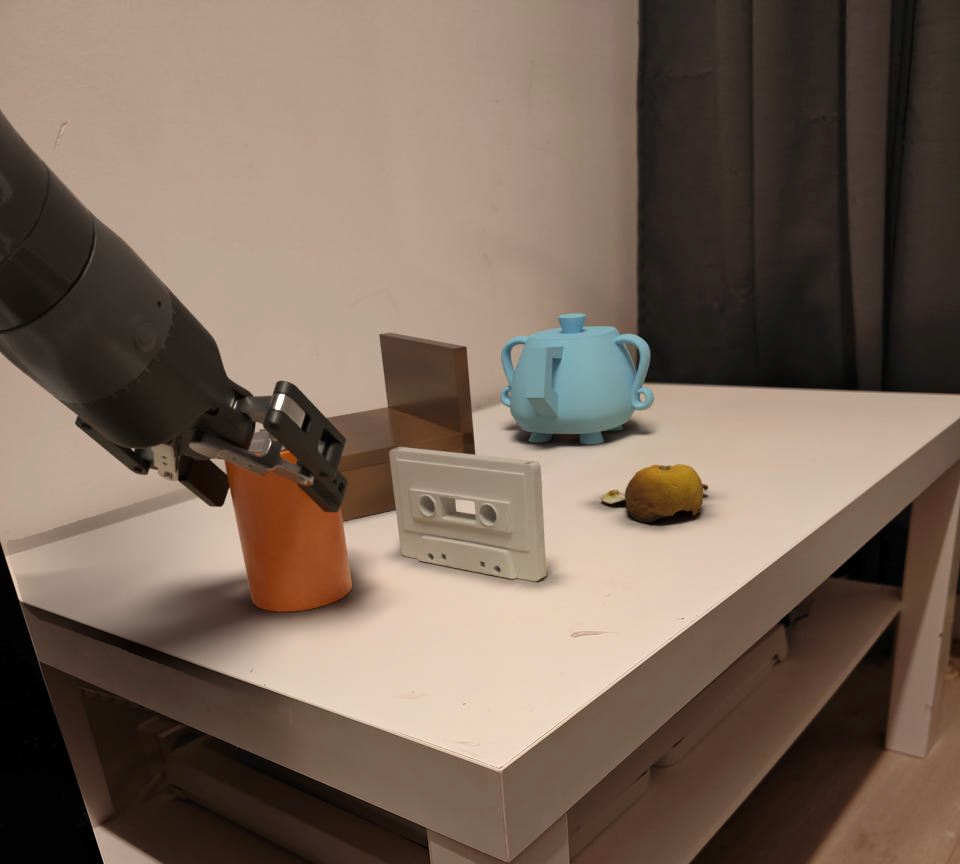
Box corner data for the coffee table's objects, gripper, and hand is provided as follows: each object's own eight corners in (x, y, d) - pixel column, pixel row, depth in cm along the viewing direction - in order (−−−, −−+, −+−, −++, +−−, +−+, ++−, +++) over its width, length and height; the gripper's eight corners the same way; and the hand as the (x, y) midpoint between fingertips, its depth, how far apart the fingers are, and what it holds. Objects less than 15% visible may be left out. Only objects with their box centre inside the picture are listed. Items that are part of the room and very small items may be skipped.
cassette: (395, 557, 66) (382, 451, 63) (413, 549, 68) (400, 444, 64) (535, 585, 59) (529, 467, 56) (551, 575, 61) (546, 459, 58)
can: (267, 620, 58) (236, 458, 53) (240, 589, 63) (210, 439, 59) (366, 594, 60) (344, 438, 56) (332, 566, 66) (310, 421, 61)
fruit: (700, 489, 75) (700, 444, 74) (730, 520, 68) (732, 470, 66) (598, 499, 75) (597, 454, 74) (617, 531, 68) (616, 481, 66)
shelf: (324, 525, 75) (300, 372, 70) (268, 484, 88) (245, 353, 83) (478, 491, 80) (466, 346, 75) (404, 457, 93) (390, 332, 88)
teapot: (622, 460, 85) (620, 325, 80) (463, 453, 93) (452, 329, 88) (684, 413, 101) (685, 298, 96) (543, 410, 109) (538, 303, 104)
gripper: (247, 257, 42) (393, 445, 57) (17, 274, 48) (203, 442, 62) (198, 399, 40) (362, 558, 54) (-37, 400, 46) (168, 544, 60)
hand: (278, 496), depth 58 cm, fingers open, 8 cm apart
